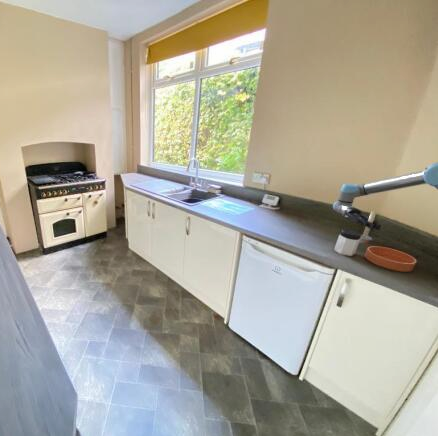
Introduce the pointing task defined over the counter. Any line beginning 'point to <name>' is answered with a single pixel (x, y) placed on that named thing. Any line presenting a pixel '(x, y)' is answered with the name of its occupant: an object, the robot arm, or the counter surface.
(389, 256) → the bowl
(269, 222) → the counter surface
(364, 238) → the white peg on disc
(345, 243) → the jar
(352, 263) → the counter surface
